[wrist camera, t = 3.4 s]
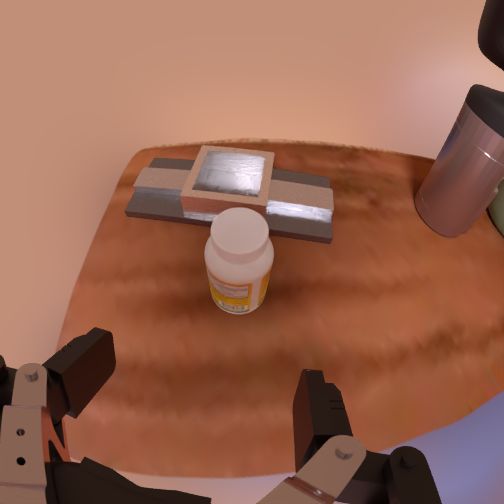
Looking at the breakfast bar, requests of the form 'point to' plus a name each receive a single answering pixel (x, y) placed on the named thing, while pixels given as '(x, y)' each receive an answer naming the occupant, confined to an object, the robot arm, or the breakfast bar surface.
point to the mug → (498, 208)
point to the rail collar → (235, 192)
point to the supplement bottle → (239, 260)
